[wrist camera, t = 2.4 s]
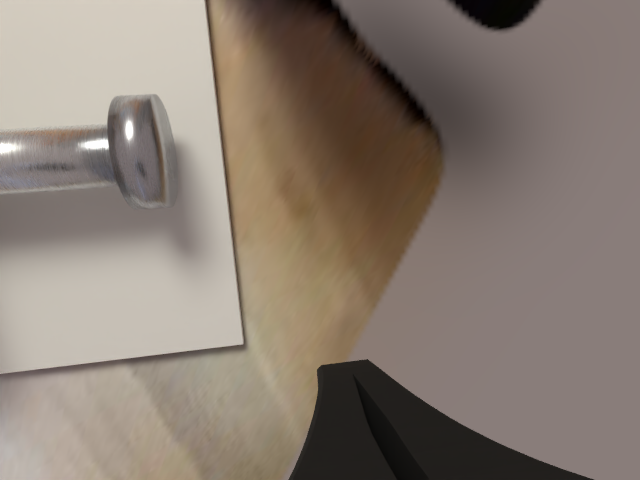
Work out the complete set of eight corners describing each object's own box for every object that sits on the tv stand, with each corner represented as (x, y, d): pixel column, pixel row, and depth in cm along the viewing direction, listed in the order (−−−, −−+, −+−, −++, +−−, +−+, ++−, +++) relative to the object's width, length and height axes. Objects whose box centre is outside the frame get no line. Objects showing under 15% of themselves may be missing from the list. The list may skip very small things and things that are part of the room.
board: (243, 338, 20) (243, 344, 19) (-150, 385, 18) (-164, 393, 17) (202, -28, 16) (200, -34, 16) (-292, -22, 14) (-316, -30, 14)
